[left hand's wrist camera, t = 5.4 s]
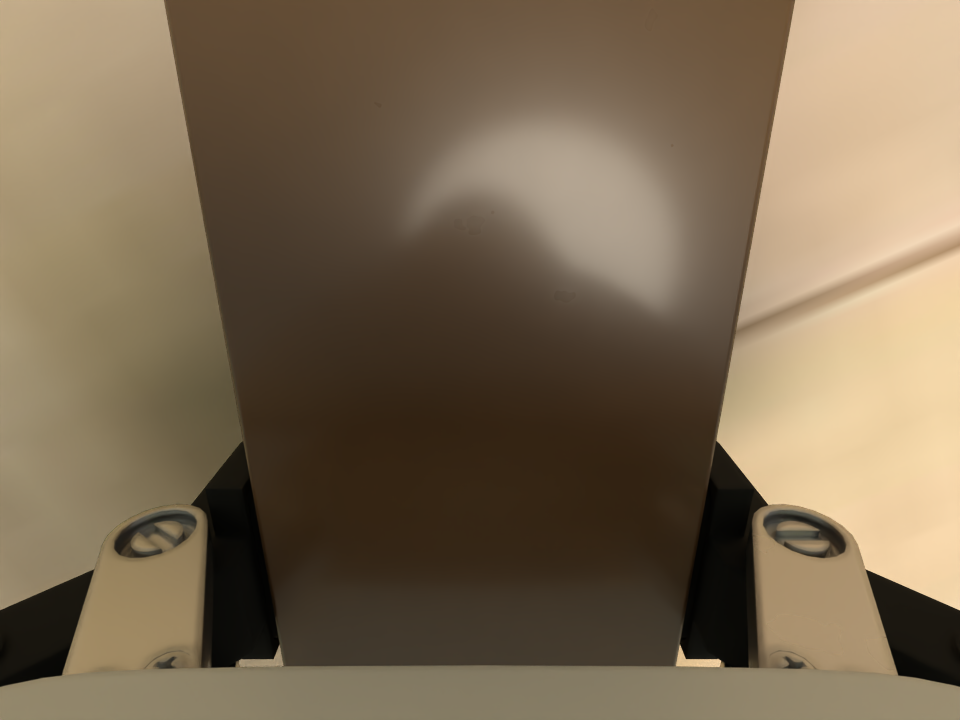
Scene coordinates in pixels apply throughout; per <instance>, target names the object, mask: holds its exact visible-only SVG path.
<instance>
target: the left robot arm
mask: <svg viewBox="0 0 960 720" xmlns="http://www.w3.org/2000/svg"><path fill="white" fill-rule="evenodd" d="M279 644H280V642H279V637H278V631H277V626H276V620H275V615H274V609H273V604H272V598H271V592H270V587H269V581H268V576H267V570H266V565H265V559H264V553H263V548H262V542H261V537H260V531H259V526H258V520H257V514H256V509H255V503H254V498H253V492H252V487H251V481H250V476H249V470H248V464H247V459H246V453H245V448H244V442H241V443H240V444H239V446H238V447H237V448H236V449H235V451H234V452H233V453H232V454H231V456H230V457H229V458H228V459H227V461H226V462H225V463H224V464H223V466H222V467H221V468H220V469H219V471H218V472H217V473H216V474H215V476H214V477H213V478H212V480H211V481H210V482H209V483H208V485H207V486H206V487H205V488H204V490H203V491H202V492H201V493H200V495H199V496H198V497H197V498H196V500H195V501H194V502H193V503H192V505H182V504H174V505H167V506H161V507H157V508H154V509H150V510H147V511H144V512H142V513H140V514H137V515H135V516H133V517H131V518H129V519H127V520H126V521H124V522H123V523H121V524H120V525H118V526H117V527H116V528H115V529H114V530H113V531H112V532H111V533H110V534H108V535H107V537H106V539H105V541H104V543H103V544H102V547H101V550H100V553H99V557H98V560H97V563H96V566H95V569H94V570H92V571H89V572H87V573H85V574H82V575H80V576H78V577H76V578H73V579H71V580H69V581H66V582H64V583H62V584H60V585H57V586H55V587H53V588H50V589H48V590H46V591H44V592H41V593H39V594H37V595H34V596H32V597H30V598H27V599H25V600H23V601H21V602H18V603H16V604H14V605H11V606H9V607H7V608H5V609H2V610H0V720H960V610H957V609H955V608H953V607H951V606H948V605H946V604H944V603H941V602H939V601H937V600H934V599H932V598H930V597H928V596H925V595H923V594H921V593H918V592H916V591H914V590H912V589H909V588H907V587H905V586H902V585H900V584H898V583H896V582H893V581H891V580H889V579H886V578H884V577H882V576H880V575H877V574H875V573H873V572H870V571H868V570H866V569H865V566H864V563H863V560H862V557H861V553H860V550H859V547H858V544H857V543H856V541H855V539H854V537H853V535H852V534H850V533H849V532H848V531H847V530H846V529H845V528H844V527H843V526H842V525H840V524H839V523H837V522H836V521H834V520H833V519H831V518H829V517H827V516H825V515H823V514H820V513H818V512H816V511H813V510H810V509H806V508H803V507H799V506H793V505H786V504H778V505H768V504H767V503H766V501H765V500H764V499H763V498H762V496H761V495H760V494H759V493H758V491H757V490H756V489H755V488H754V486H753V485H752V484H751V483H750V481H749V480H748V479H747V478H746V476H745V475H744V474H743V473H742V471H741V470H740V469H739V468H738V466H737V465H736V464H735V463H734V461H733V460H732V459H731V458H730V456H729V455H728V454H727V452H726V451H725V450H724V449H723V447H722V446H721V445H720V444H719V443H718V442H717V441H716V444H715V450H714V455H713V461H712V466H711V472H710V477H709V483H708V489H707V494H706V500H705V505H704V511H703V517H702V522H701V528H700V533H699V539H698V544H697V550H696V556H695V561H694V567H693V572H692V578H691V583H690V589H689V595H688V600H687V606H686V611H685V617H684V623H683V628H682V634H681V639H680V645H681V648H682V650H683V653H684V655H685V658H686V659H719V660H721V665H720V667H678V666H497V665H463V666H282V667H240V665H239V660H240V659H274V657H275V654H276V652H277V649H278V647H279Z"/></svg>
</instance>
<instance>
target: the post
mask: <svg viewBox="0 0 960 720" xmlns="http://www.w3.org/2000/svg"><path fill="white" fill-rule="evenodd" d="M164 3H165V8H166V14H167V19H168V25H169V30H170V36H171V41H172V47H173V53H174V58H175V64H176V69H177V75H178V80H179V86H180V92H181V97H182V103H183V108H184V114H185V119H186V125H187V131H188V136H189V142H190V147H191V153H192V158H193V164H194V169H195V175H196V181H197V186H198V192H199V197H200V203H201V208H202V214H203V220H204V225H205V231H206V236H207V242H208V247H209V253H210V259H211V264H212V270H213V275H214V281H215V286H216V292H217V297H218V303H219V309H220V314H221V320H222V325H223V331H224V336H225V342H226V348H227V353H228V359H229V364H230V370H231V375H232V381H233V386H234V392H235V398H236V403H237V409H238V414H239V420H240V425H241V431H242V437H243V442H244V448H245V453H246V459H247V464H248V470H249V476H250V481H251V487H252V492H253V498H254V503H255V509H256V514H257V520H258V526H259V531H260V537H261V542H262V548H263V553H264V559H265V565H266V570H267V576H268V581H269V587H270V592H271V598H272V604H273V609H274V615H275V620H276V626H277V631H278V637H279V642H280V648H281V654H282V659H283V665H284V666H463V665H497V666H676V662H677V656H678V650H679V645H680V639H681V634H682V628H683V623H684V617H685V611H686V606H687V600H688V595H689V589H690V583H691V578H692V572H693V567H694V561H695V556H696V550H697V544H698V539H699V533H700V528H701V522H702V517H703V511H704V505H705V500H706V494H707V489H708V483H709V477H710V472H711V466H712V461H713V455H714V450H715V444H716V438H717V433H718V427H719V422H720V416H721V410H722V405H723V399H724V394H725V388H726V383H727V377H728V371H729V366H730V360H731V355H732V349H733V343H734V338H735V332H736V327H737V321H738V316H739V310H740V304H741V299H742V293H743V288H744V282H745V276H746V271H747V265H748V260H749V254H750V249H751V243H752V237H753V232H754V226H755V221H756V215H757V210H758V204H759V198H760V193H761V187H762V182H763V176H764V170H765V165H766V159H767V154H768V148H769V143H770V137H771V131H772V126H773V120H774V115H775V109H776V103H777V98H778V92H779V87H780V81H781V76H782V70H783V64H784V59H785V53H786V48H787V42H788V36H789V31H790V25H791V20H792V14H793V9H794V3H795V0H164Z"/></svg>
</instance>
